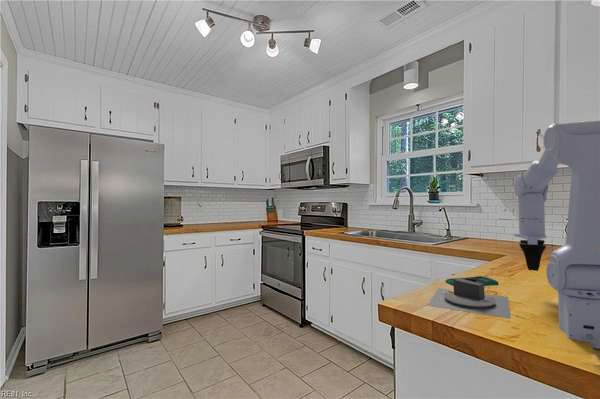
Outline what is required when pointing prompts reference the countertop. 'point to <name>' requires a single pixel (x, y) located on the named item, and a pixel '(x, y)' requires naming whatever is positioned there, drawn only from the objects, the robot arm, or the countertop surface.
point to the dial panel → (497, 310)
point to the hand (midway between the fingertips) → (533, 267)
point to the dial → (469, 294)
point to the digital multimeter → (476, 280)
